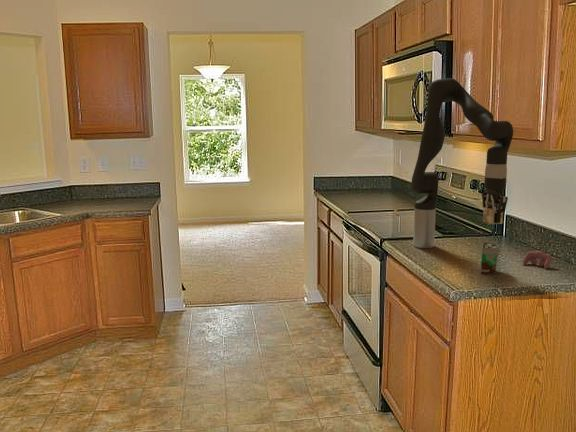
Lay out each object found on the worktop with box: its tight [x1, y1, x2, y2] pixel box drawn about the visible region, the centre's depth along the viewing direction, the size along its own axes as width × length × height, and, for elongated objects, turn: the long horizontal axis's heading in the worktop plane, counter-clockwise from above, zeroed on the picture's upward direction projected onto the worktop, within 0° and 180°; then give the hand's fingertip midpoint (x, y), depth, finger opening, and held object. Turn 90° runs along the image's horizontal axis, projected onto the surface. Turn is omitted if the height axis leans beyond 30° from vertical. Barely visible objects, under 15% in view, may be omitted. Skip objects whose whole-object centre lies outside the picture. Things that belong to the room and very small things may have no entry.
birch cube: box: [482, 207, 504, 225], centre depth 207 cm, size 5×5×5 cm
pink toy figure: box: [522, 250, 553, 270], centre depth 218 cm, size 10×5×7 cm, turn 44°
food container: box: [480, 241, 501, 275], centre depth 210 cm, size 12×6×10 cm, turn 158°
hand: (492, 221), depth 207 cm, fingers closed on birch cube, 5 cm apart
